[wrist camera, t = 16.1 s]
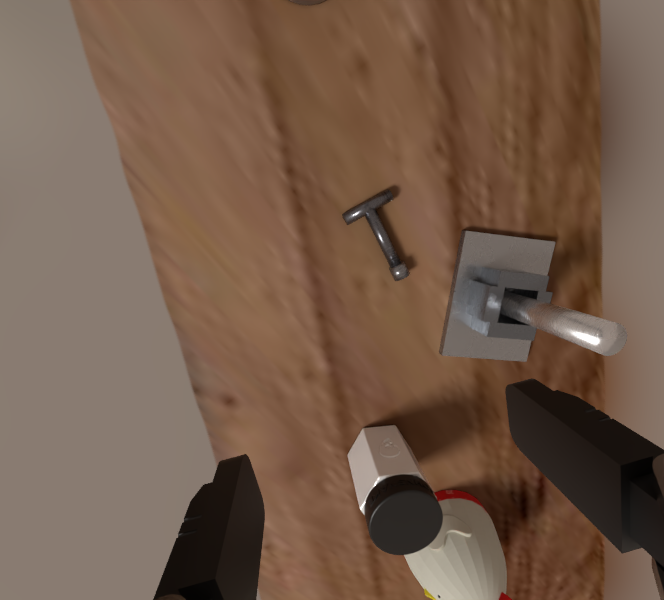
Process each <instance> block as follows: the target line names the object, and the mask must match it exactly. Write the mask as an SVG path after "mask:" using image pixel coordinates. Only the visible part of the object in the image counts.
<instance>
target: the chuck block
mask: <svg viewBox="0 0 664 600" xmlns="http://www.w3.org/2000/svg"><path fill="white" fill-rule="evenodd" d="M554 246H555V242H552V241H544V240H536V239H528V238H520V237H512V236H504V235H496V234H488V233H480V232H472V231H462V233H461V238H460V243H459V249H458V254H457V259H456V265H455V270H454V275H453V280H452V286H451V291H450V296H449V302H448V307H447V312H446V318H445V323H444V328H443V333H442V339H441V344H440V349H439V353H440V354H441V355H444V356H457V357H470V358H484V359H497V360H511V361H524V362H526V361H527V357H528V353H529V349H530V345H531V341H534V337H535V333H536V329H537V328H535V327H533V326H530V325H528V324H525V323H523V322H520V321H518V320H515V319H513V318H511V317H508V316H506V315H503V314H501V313H500V309H501V304H502V299H503V295H504V291H507V292H511V293H514V294H518V295H521V296H525V297H528V298H532V299H535V300H539V301H542V302H546V303H549V304H550V301H551V297H552V293H553V292H549V291H546V288H547V284H548V280H549V276H547V275H548V271H549V267H550V263H551V259H552V255H553V251H554Z"/></svg>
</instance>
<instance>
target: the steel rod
mask: <svg viewBox="0 0 664 600" xmlns="http://www.w3.org/2000/svg"><path fill="white" fill-rule="evenodd" d="M500 313H501V314H503V315H506V316H508V317H511V318H513V319H515V320H518V321H520V322H523V323H525V324H528V325H530V326H533V327H535V328H538V329H540V330H543V331H545V332H548V333H550V334H553V335H555V336H558V337H560V338H562V339H565V340H567V341H570V342H572V343H575V344H577V345H580V346H582V347H585V348H587V349H590V350H592V351H595V352H597V353H600V354H602V355H605V356H610V355H614V354H616V353H618V352H619V351H620V350H621V349H622V348H623V346H624V345H625V343H626V340H627V332H626V329H625V328H624V326H622V325H621V324H619V323H615V322H612V321H608V320H605V319H602V318H598V317H595V316H591V315H588V314H584V313H581V312H577V311H574V310H570V309H567V308H563V307H560V306H556V305H553V304H549V303H546V302H542V301H539V300H535V299H532V298H528V297H525V296H521V295H518V294H514V293H511V292H507V291H504V295H503V299H502V304H501V309H500Z"/></svg>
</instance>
